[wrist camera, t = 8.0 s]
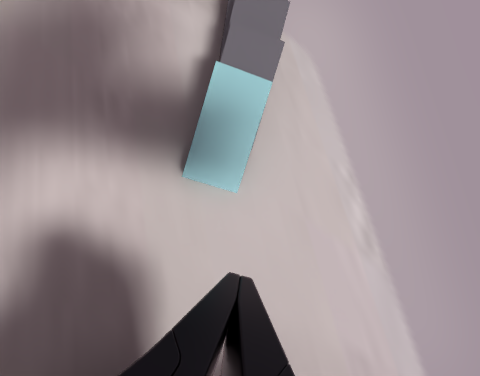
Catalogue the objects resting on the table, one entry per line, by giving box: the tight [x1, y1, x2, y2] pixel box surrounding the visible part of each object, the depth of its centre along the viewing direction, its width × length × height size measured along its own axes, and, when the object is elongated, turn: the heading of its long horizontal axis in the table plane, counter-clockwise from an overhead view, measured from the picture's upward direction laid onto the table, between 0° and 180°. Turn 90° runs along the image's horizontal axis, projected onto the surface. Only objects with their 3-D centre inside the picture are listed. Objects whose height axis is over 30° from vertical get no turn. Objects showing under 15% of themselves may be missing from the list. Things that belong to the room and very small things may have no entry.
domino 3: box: [182, 61, 272, 193], centre depth 22 cm, size 2×5×10 cm
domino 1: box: [220, 0, 290, 60], centre depth 25 cm, size 2×5×10 cm
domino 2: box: [220, 22, 285, 150], centre depth 24 cm, size 2×5×10 cm
